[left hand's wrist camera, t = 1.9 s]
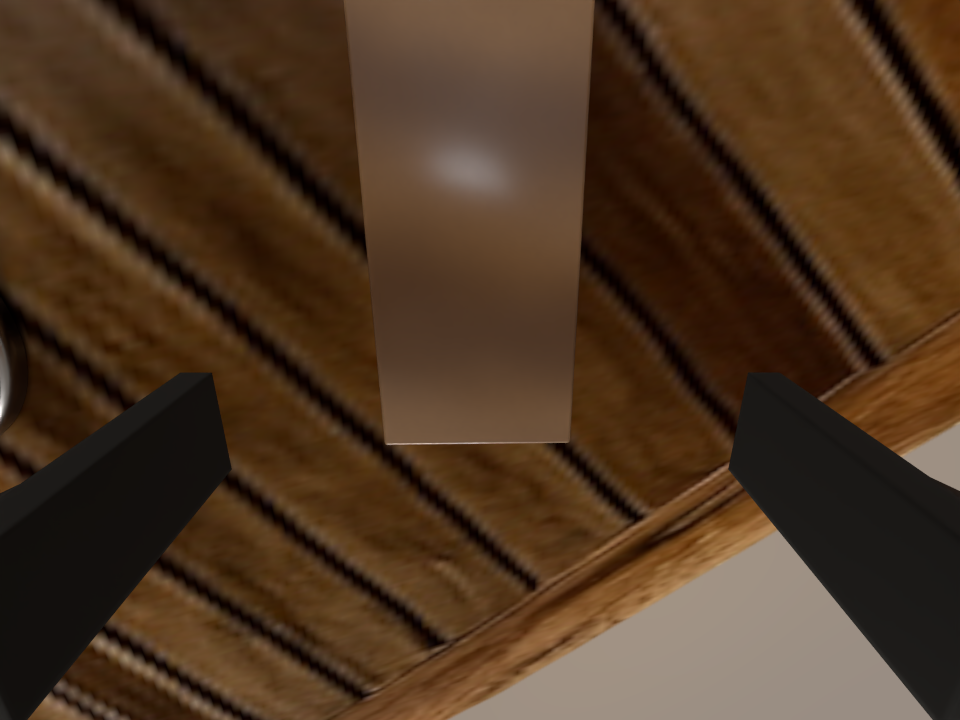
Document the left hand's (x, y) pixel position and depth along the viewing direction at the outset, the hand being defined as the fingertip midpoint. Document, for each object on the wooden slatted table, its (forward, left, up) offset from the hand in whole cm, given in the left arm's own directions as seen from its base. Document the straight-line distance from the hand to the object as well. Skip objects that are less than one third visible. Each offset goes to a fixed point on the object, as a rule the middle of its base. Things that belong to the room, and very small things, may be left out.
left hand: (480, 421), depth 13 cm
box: (-6, +5, -16) cm, 18 cm away
